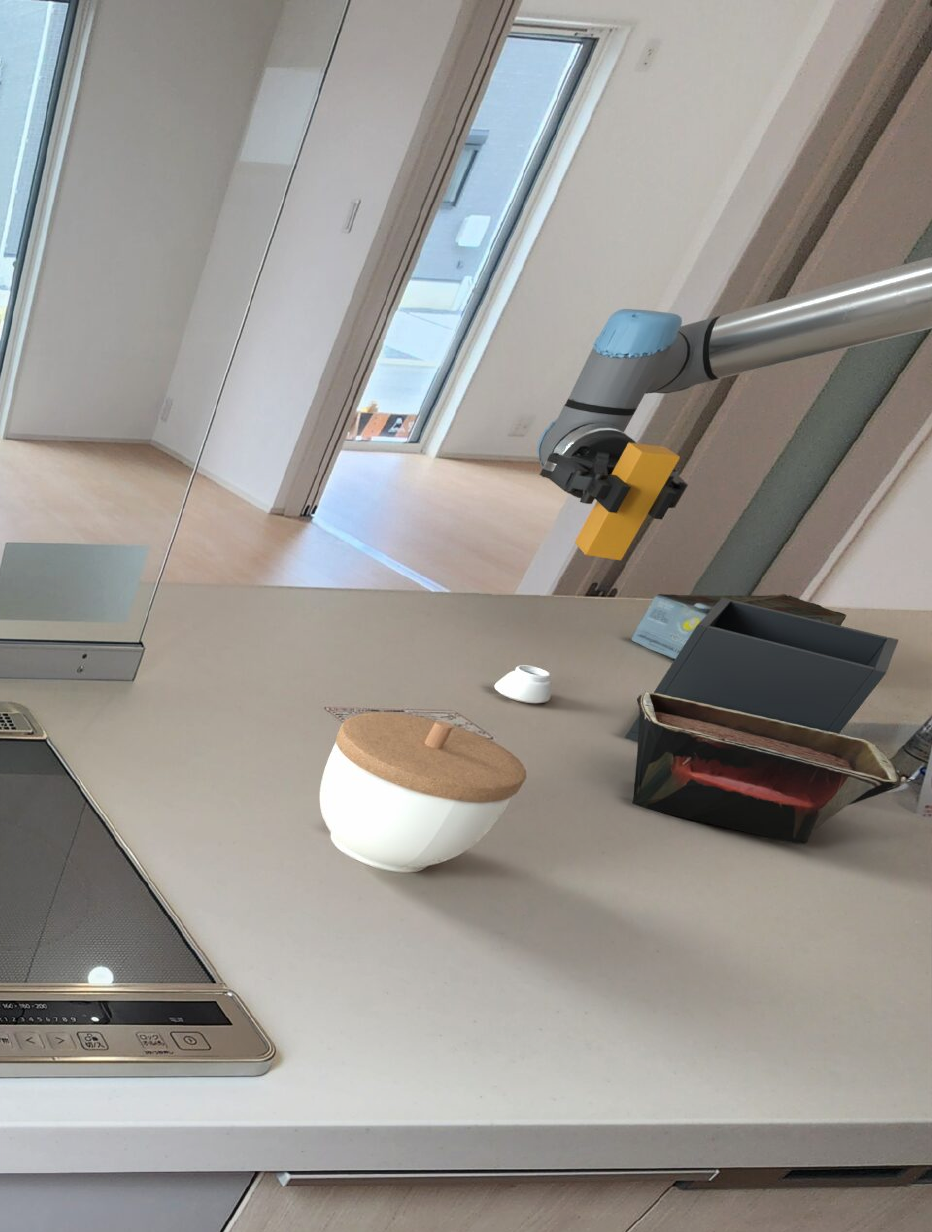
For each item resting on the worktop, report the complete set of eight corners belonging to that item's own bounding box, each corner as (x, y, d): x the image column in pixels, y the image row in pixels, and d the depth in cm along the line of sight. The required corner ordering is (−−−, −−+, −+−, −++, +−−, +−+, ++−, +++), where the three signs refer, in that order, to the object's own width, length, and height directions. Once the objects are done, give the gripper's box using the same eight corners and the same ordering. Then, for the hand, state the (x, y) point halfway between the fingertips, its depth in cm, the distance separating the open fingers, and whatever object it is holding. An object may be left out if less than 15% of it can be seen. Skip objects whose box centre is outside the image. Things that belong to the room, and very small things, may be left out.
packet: (608, 547, 125) (665, 446, 118) (621, 560, 120) (680, 457, 114) (574, 542, 126) (628, 442, 119) (585, 555, 121) (642, 452, 115)
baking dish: (607, 766, 106) (647, 671, 101) (856, 807, 96) (916, 703, 90) (586, 828, 98) (628, 727, 92) (857, 880, 87) (923, 770, 82)
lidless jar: (482, 689, 116) (524, 708, 112) (496, 663, 114) (539, 682, 110) (514, 685, 117) (557, 704, 113) (528, 659, 115) (572, 678, 112)
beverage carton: (624, 638, 132) (656, 586, 128) (757, 642, 134) (792, 590, 131) (678, 664, 126) (713, 609, 122) (817, 667, 128) (856, 613, 124)
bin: (812, 751, 107) (899, 639, 100) (794, 791, 100) (886, 672, 93) (652, 704, 115) (722, 597, 108) (624, 738, 107) (697, 624, 100)
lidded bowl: (431, 821, 90) (498, 701, 84) (493, 903, 80) (575, 774, 74) (277, 800, 92) (331, 680, 85) (319, 878, 82) (384, 749, 75)
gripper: (655, 504, 132) (712, 551, 115) (503, 483, 137) (536, 525, 120) (692, 439, 128) (757, 478, 110) (534, 419, 133) (572, 454, 115)
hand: (642, 502), depth 115 cm, fingers closed on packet, 3 cm apart
